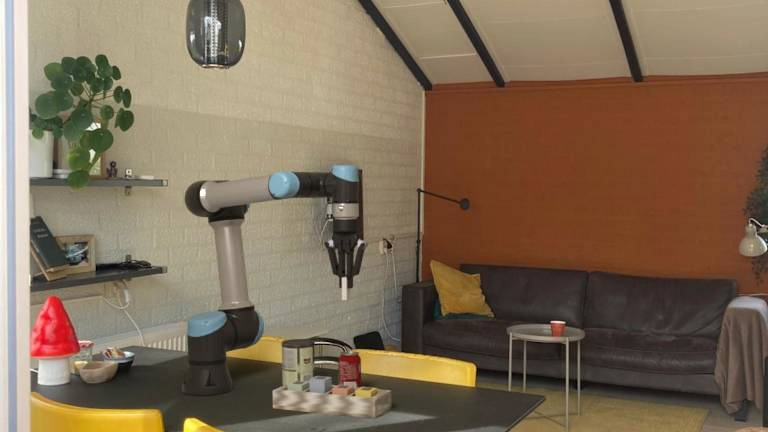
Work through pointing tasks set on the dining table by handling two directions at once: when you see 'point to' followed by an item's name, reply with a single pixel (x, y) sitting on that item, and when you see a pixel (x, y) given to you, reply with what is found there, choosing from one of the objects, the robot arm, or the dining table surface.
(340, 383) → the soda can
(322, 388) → the slate key
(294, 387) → the sage key
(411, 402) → the dining table surface
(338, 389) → the terracotta key
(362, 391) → the mustard key
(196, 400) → the dining table surface
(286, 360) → the coffee can
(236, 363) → the dining table surface
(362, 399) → the wooden tray
